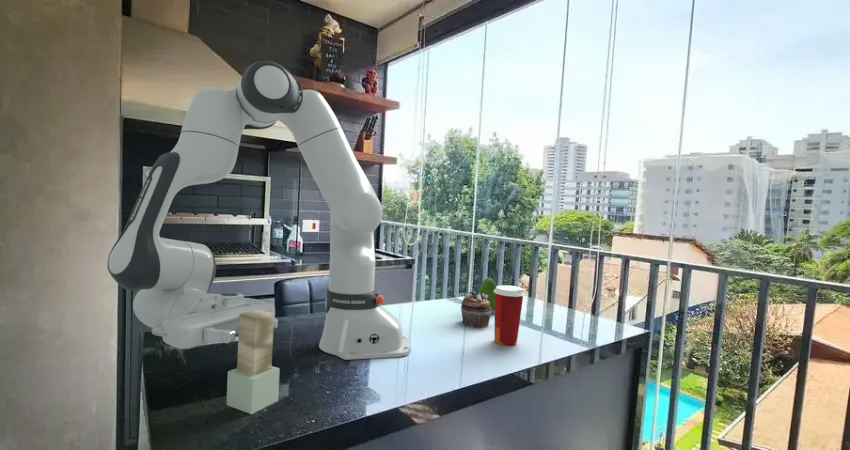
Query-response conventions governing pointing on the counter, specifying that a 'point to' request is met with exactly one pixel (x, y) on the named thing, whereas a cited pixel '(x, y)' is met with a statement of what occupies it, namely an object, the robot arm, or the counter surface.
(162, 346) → the counter surface
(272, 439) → the counter surface
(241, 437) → the counter surface
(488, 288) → the avocado
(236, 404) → the sage block
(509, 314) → the coffee cup
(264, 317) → the maple pillar
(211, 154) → the robot arm
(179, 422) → the counter surface
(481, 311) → the cupcake
